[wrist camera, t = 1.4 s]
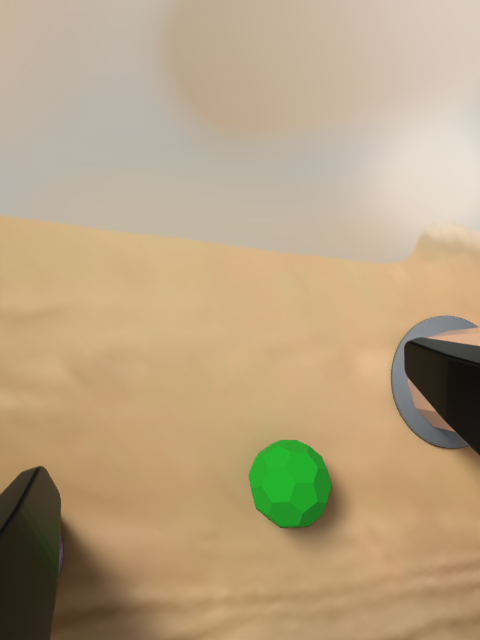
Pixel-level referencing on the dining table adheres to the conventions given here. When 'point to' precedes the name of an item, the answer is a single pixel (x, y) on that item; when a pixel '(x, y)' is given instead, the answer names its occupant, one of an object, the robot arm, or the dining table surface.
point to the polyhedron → (290, 484)
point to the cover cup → (421, 404)
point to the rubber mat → (403, 391)
